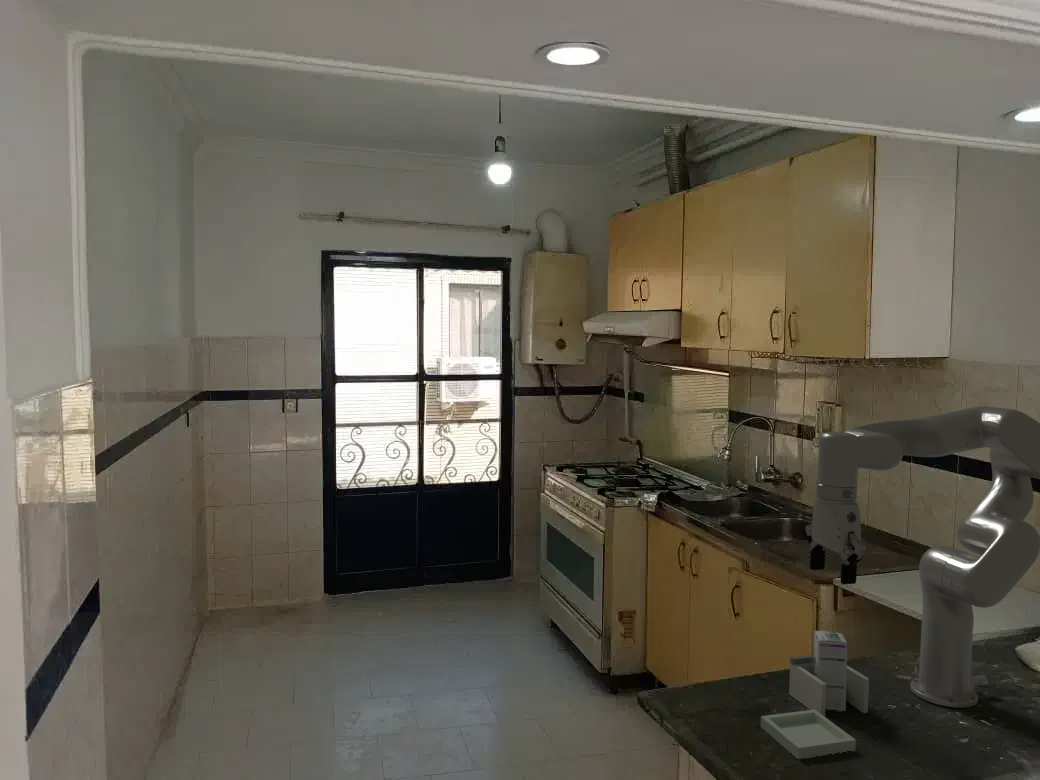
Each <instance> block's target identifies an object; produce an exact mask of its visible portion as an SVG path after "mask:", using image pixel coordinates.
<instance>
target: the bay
mask: <svg viewBox="0 0 1040 780" xmlns="http://www.w3.org/2000/svg"><path fill="white" fill-rule="evenodd" d="M789 658H790V659H789V660H790V661H789V687H788V688H789V690H788V695H791V696H792V697H794V698H795V699H796V700H798V701H799V702H800V703H802V704H803V705H804V706H806V707H807V708H808V709H810V710H814V709H815V710H816V711H817V712H819V713H820V714H821V715H823V716H824V717H825V718H826V710H825V707H826V683H824V682H823V681H821V680H820V679H818V678H817V677H815V676H814V675H813V661H814V654H810V655H801V656H791V657H789ZM869 692H870V678H869V677H867V676H865V675H863V674H862V673H861V672H859V671H857V670H856V669H854V668H852V667H850V666H849V665H847V682H846V701H847V702H846V703H848V702H849V703H850V705H851V706H852V705H853V706H852V707H854V708H855V707H856V708H857V710H858V711H859V710H860V711H859V712H861V713H862V712H863V713H862V714H867V713H869V695H870V694H869ZM791 696H790V697H791ZM792 697H791V698H792ZM795 699H794V700H795ZM796 700H795V701H796ZM799 702H798V703H799ZM800 703H799V704H800ZM849 703H848V704H849ZM803 705H802V706H803ZM804 706H803V707H804ZM807 708H806V709H807ZM856 708H855V709H856ZM808 709H807V710H808Z"/></svg>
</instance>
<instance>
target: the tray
mask: <svg viewBox="0 0 1040 780" xmlns="http://www.w3.org/2000/svg"><path fill="white" fill-rule="evenodd" d="M759 726H760V728H761V729H763V731H765V732H766V733H767V734H768V735H769V736H770V737H772V738H773V739H774V740H775V741H776V742H777V743H779V745H781V746H782V747H784V749H786V751H788V752H789V753H790V754H791V753H792V754H791V755H793V756H794V758H796V759H797V760H802V759H803V758H804V759H810V758H817V757H816V756H818V757H824V756H823V755H825V756H828V755H827V754H832V755H836V754H835V753H839V752H840V753H839V754H843V753H842V752H846V753H848V752H847V751H852V752H856V747H857V746H856V745H857V739H855V737H853V736H851V735H850V734H848V733H847V732H846V731H845V730H843V729H842V728H840V727H839V726H838V725H836V724H835V723H834V722H832V721H831V720H829V719H828V718H827V717H826V716H825V717H824V716H823V715H821V714H820V713H819V712H817V711H816V710H815V709H814V710H808V709H807V710H799V711H792V712H784V713H776V714H768V715H761V716H760V725H759ZM804 759H803V760H804Z"/></svg>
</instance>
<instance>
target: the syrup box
mask: <svg viewBox="0 0 1040 780" xmlns="http://www.w3.org/2000/svg"><path fill="white" fill-rule="evenodd" d="M813 633H814V635H813V636H814V637H813V655H814V661H813V675H814V676H815V677H817V678H818V679H820V680H821V681H823V682H824V683H826V707H825V709H830V710H838V711H837V712H842V711H845V712H846V711H847V709H846V708H847V707H846V706H847V702H846V682H847V666H848V665H847V664H848V663H847V662H848V642H847V640H846V639H845V636H844V635H843V633H842V632H839V631H830V630H814V631H813ZM830 710H829V711H830Z"/></svg>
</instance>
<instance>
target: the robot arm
mask: <svg viewBox="0 0 1040 780" xmlns="http://www.w3.org/2000/svg"><path fill="white" fill-rule="evenodd" d="M985 448H989V461H990V464H991V471H992V472H991V473H992V479H991V484H990V485H989V486H990V487H989V488H988V490H987V491H986V492H985V493H984V495H983V496H982V497H981V499H980V500H979V501H978V502H977V503H976V504H975V506H974V507H973V508H972V509H971V510H970V511H969V513H968V514H967V515H966V516H965V518H964V519H963V520H962V521H961V522H960V523H959V525H958V528H957V530H956V539H957V541H958V543H959V544H960V545H961V546H962V547H963V548H964V549H966V550H968V551H970V552H972V553H970V552H967V551H963V550H961V549H958V548H955V547H951V546H947V545H946V546H945V545H939V546H938V545H936V546H933V547H930V548H928V549H927V550H926V551H925V552H924V553H923V555H922V556H921V558H920V560H919V561H920V562H919V567H918V570H919V571H918V573H919V580H920V585H921V593H922V595H921V596H922V612H921V613H922V615H921V616H922V617H921V631H920V634H921V635H920V652H919V670H918V671H919V673H918V674H919V675H918V677H917V678H913V679H912V680H911V681H910V691H912V693H914V695H915V696H917V697H918V698H920V699H923V700H924V701H926V702H929V703H932V704H935V705H938V706H942V707H948V708H955V709H956V708H957V709H963V708H964V709H965V708H971V707H974V706H976V705H977V704H978V703H979V696H978V693H977V692H976V691H975V690H974V689H975V688H976V687H978V686H984V685H988V683H989V680H988V678H987V676H986V675H984V674H980V675H973V674H972V655H973V651H972V650H973V637H974V625H975V624H974V623H975V621H974V618H975V617H974V609H973V607H977V608H981V609H984V608H987V609H988V608H992V607H994V606H996V605H997V604H999V603H1000V602H1002V600H1004V599H1005V598H1006V597H1007V595H1008V594H1010V592H1011V591H1012V590H1013V589H1014V588H1015V586H1016V585H1017V583H1019V581H1020V580H1021V579H1022V578H1023V577H1024V576H1025V574H1026V573H1027V572H1028V571H1029V570H1030V568H1031V567H1032V565H1034V564H1035V562H1036V560H1037V559H1038V557H1039V554H1040V534H1039V532H1038V531H1037V529H1036V528H1035V527H1034V526H1033V525H1032V524H1031V523H1029V522H1027V521H1025V519H1026V518H1027V516H1028V515H1029V513H1030V512H1031V510H1032V508H1033V504H1034V498H1035V497H1034V491H1033V485H1032V480H1031V479H1033V478H1034V479H1036V480H1037V479H1038V480H1040V422H1039V421H1037V420H1035V419H1034V418H1033V417H1031V416H1030V415H1028V414H1026V413H1025V412H1023V411H1020V410H1017V409H1015V408H1014V409H1013V408H1002V407H997V406H986V405H985V406H983V405H982V406H973V407H969V408H964V409H959V410H955V411H949V412H946V413H940V414H936V415H931V416H924V417H923V416H922V417H913V418H905V419H897V420H896V419H895V420H889V421H880V422H873V423H868V424H862V425H860V426H859V425H857V426H855V427H850V428H849V429H847V430H845V431H826V432H823V433H822V434H821V435H820V436H819V443H818V457H817V474H816V475H817V476H816V477H817V480H816V496H815V502H814V506H813V511H812V517H811V519H812V520H811V523H809V524H807V525H806V526H805V528H804V529H805V532H806V540H807V542H808V544H809V545H808V549H809V550H810V552H809V553H810V554H809V555H810V557H809V569H810V570H811V571H820V570H821V571H822V570H824V569H825V564H826V550H824V548H826V549H829V550H830V551H833V552H836V553H838V554H840V557H841V559H842V562H843V563H841V564H840V567H841V568H840V581H839V582H840V583H841V585H853V584H854V585H855V584H856V583H857V572H858V571H857V569H858V565H860V563H861V561H862V560H863V558H864V555H865V552H866V550H867V546H866V545H865V544H864V543H863V542H862V526H861V525H862V522H861V513H860V512H861V511H860V506H859V503H858V502H857V494H858V479H859V478H858V477H859V476H858V475H859V470H860V469H864V470H865V469H866V470H871V471H889V470H891V469H894V468H895V467H896V466H898V465H899V464H900V463H901V461H902V459H903V456H910V457H919V458H939V457H940V458H941V457H945V456H949V455H950V456H951V455H954V454H959V453H963V452H968V451H972V450H977V449H985ZM848 554H849V556H848ZM973 554H976V555H973ZM977 555H979V556H977Z"/></svg>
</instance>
